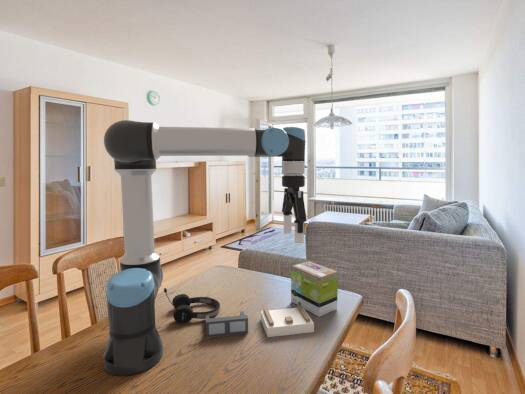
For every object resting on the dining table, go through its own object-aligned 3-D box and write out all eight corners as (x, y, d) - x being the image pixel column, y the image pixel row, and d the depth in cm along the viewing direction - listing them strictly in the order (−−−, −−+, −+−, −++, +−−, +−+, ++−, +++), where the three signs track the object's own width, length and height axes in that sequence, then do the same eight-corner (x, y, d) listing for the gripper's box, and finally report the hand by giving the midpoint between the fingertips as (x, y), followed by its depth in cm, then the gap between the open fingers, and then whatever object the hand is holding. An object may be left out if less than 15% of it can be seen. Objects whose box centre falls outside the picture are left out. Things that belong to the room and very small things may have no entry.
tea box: (290, 302, 118) (290, 265, 117) (308, 295, 124) (309, 260, 123) (319, 318, 106) (319, 276, 105) (338, 309, 112) (339, 270, 111)
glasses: (205, 320, 105) (205, 306, 104) (243, 316, 107) (243, 302, 107) (206, 338, 94) (205, 322, 93) (248, 333, 96) (248, 318, 96)
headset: (163, 282, 112) (217, 281, 119) (161, 307, 113) (215, 305, 120) (164, 297, 100) (224, 295, 106) (161, 325, 100) (222, 322, 107)
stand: (260, 319, 105) (260, 308, 105) (302, 315, 108) (302, 304, 108) (267, 337, 94) (267, 324, 94) (313, 332, 97) (314, 319, 97)
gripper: (317, 176, 90) (316, 246, 93) (293, 173, 115) (293, 229, 117) (293, 176, 89) (292, 248, 91) (273, 173, 113) (273, 230, 116)
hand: (292, 237), depth 104 cm, fingers open, 13 cm apart
